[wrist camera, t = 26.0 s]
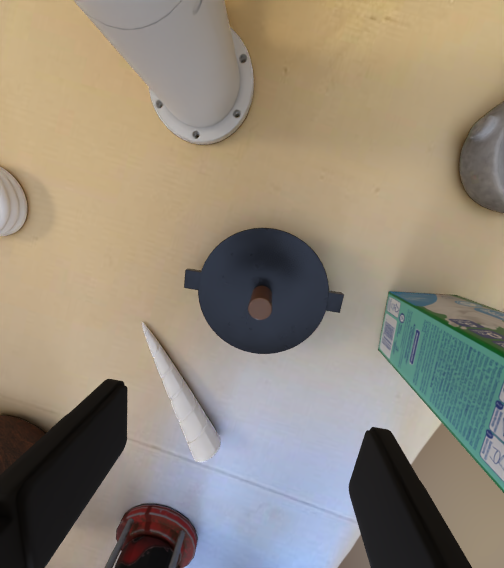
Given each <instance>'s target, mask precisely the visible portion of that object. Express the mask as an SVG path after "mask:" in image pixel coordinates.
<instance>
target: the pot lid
mask: <svg viewBox="0 0 504 568" xmlns="http://www.w3.org/2000/svg"><path fill="white" fill-rule="evenodd" d="M198 295H199V302H200V306H201V310H202V312H203V315H204V317H205V319H206V321H207V323H208V324H209V325H210V327H211V328H212V330H213V331H214V332H215V333H216V334H217V335H218V336H219V337H220V338H222V339H223V340H224V341H225V342H227V343H228V344H230V345H232V346H234V347H236V348H238V349H241V350H243V351H247V352H251V353H258V354H271V353H278V352H282V351H285V350H288V349H291V348H293V347H295V346H297V345H298V344H300V343H301V342H303V341H304V340H306V339H307V338H308V337H309V336H310V335H311V334H312V333H313V332H314V331H315V330H316V328H317V327H318V325H319V324H320V322H321V321H322V319H323V316H324V314H325V311H326V308H327V304H328V298H329V286H328V279H327V275H326V272H325V269H324V267H323V264H322V263H321V261H320V259H319V258H318V256H317V255H316V254H315V252H314V251H313V250H312V249H311V248H310V247H309V246H308V245H307V244H306V243H305V242H303V241H302V240H300V239H299V238H297V237H296V236H294V235H292V234H290V233H287V232H284V231H281V230H277V229H271V228H254V229H249V230H244V231H242V232H239V233H236V234H234V235H232V236H230V237H228V238H227V239H225V240H224V241H222V242H221V243H220V244H219V245H218V246H217V247H216V248H215V249H214V250H213V251H212V252H211V254H210V255H209V257H208V258H207V260H206V261H205V263H204V266H203V268H202V271H201V274H200V278H199V284H198Z"/></svg>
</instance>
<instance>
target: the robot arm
mask: <svg viewBox="0 0 504 568" xmlns="http://www.w3.org/2000/svg"><path fill="white" fill-rule="evenodd" d="M74 1H75V3H76V4H77V5H78V6H79V7H80V9H81V10H82V11H83V12H84V13H85V14H86V15H87V17H88V18H89V19H90V20H91V21H92V22H93V24H94V25H95V26H96V27H97V28H98V29H99V30H100V32H101V33H102V34H103V35H104V36H105V37H106V38H107V40H108V41H109V42H110V43H111V44H112V45H113V46H114V48H115V49H116V50H117V51H118V52H119V53H120V54H121V56H122V57H123V58H124V59H125V60H126V61H127V63H128V64H129V65H130V66H131V67H132V68H133V69H134V71H135V72H136V73H137V74H138V75H139V76H140V77H141V79H142V80H143V81H144V82H145V83H146V84H147V85H148V87H149V92H150V97H151V101H152V103H153V106H154V108H155V111H156V113H157V114H158V116H159V118H160V119H161V121H162V122H163V123H164V124H165V125H166V127H167V128H168V129H169V130H170V131H171V132H173V133H174V134H175V135H176V136H178V137H179V138H181V139H183V140H185V141H187V142H190V143H194V144H200V145H202V144H212V143H216V142H219V141H221V140H223V139H225V138H227V137H229V136H230V135H231V134H232V133H234V132H235V131H236V130H237V129H238V127H239V126H240V125H241V124H242V122H243V121H244V119H245V117H246V116H247V114H248V111H249V108H250V106H251V103H252V98H253V93H254V76H253V68H252V63H251V59H250V56H249V53H248V51H247V48H246V46H245V45H244V43H243V41H242V40H241V38H240V37H239V36H238V35H237V33H236V32H235V31H234V30H233V29H232V28H231V27H230V25H229V20H228V15H227V10H226V5H225V0H74ZM243 62H245V63H243ZM161 107H162V108H161ZM237 115H239V116H240V117H239V118H236V116H237ZM197 135H199V137H198V138H196V137H197ZM126 442H127V386H124V382H123V381H118V380H113V379H107V380H105V381H104V382H103V383H102V384H101V385H100V386H98V387H97V388H96V389H95V390H94V391H93V392H92V393H91V394H90V395H89V396H88V397H86V398H85V399H84V400H83V401H82V402H81V403H80V404H79V405H78V406H77V407H76V408H74V409H73V410H72V411H71V412H70V413H69V414H67V415H66V416H65V417H63V418H62V419H61V420H60V421H59V422H58V423H57V424H56V425H55V426H53V427H52V428H51V429H50V430H49V431H48V432H47V433H46V434H45V435H44V436H42V437H41V438H40V439H39V440H38V441H37V442H36V443H35V444H34V445H33V446H31V447H30V448H29V449H28V450H27V451H26V452H25V453H24V454H23V455H22V456H20V457H19V458H18V459H17V460H16V461H15V462H14V463H13V464H12V465H11V466H9V467H8V468H7V469H6V470H5V471H4V472H3V473H2V474H1V475H0V568H45V566H46V565H47V564H48V562H49V561H50V559H51V558H52V556H53V555H54V553H55V552H56V550H57V549H58V547H59V546H60V544H61V543H62V541H63V540H64V538H65V537H66V535H67V534H68V532H69V531H70V529H71V528H72V526H73V525H74V523H75V522H76V520H77V519H78V517H79V516H80V514H81V513H82V511H83V510H84V508H85V507H86V505H87V504H88V502H89V501H90V499H91V498H92V496H93V495H94V493H95V492H96V490H97V489H98V487H99V486H100V484H101V483H102V481H103V480H104V478H105V477H106V475H107V474H108V472H109V471H110V469H111V468H112V466H113V465H114V463H115V462H116V460H117V459H118V457H119V456H120V454H121V453H122V451H123V450H124V448H125V445H126ZM349 494H350V498H351V501H352V505H353V508H354V512H355V515H356V518H357V522H358V525H359V529H360V532H361V536H362V539H363V542H364V546H365V549H366V553H367V556H368V559H369V562H370V566H371V568H472V567H471V565H470V563H469V562H468V560H467V558H466V557H465V555H464V553H463V551H462V550H461V548H460V546H459V545H458V543H457V541H456V540H455V538H454V536H453V535H452V533H451V531H450V529H449V528H448V526H447V524H446V523H445V521H444V519H443V518H442V516H441V514H440V513H439V511H438V509H437V507H436V506H435V504H434V502H433V501H432V499H431V497H430V496H429V494H428V492H427V490H426V489H425V487H424V486H423V484H422V483H421V481H420V480H419V478H418V477H417V475H416V473H415V472H414V470H413V468H412V466H411V465H410V463H409V461H408V460H407V458H406V456H405V454H404V453H403V451H402V449H401V448H400V446H399V444H398V443H397V441H396V439H395V437H394V436H393V434H392V433H391V431H389V430H387V429H381V428H376V427H372V428H371V429H370V431H368V430H367V431H366V433H365V436H364V439H363V442H362V445H361V448H360V451H359V454H358V458H357V461H356V464H355V467H354V470H353V473H352V476H351V479H350V483H349Z"/></svg>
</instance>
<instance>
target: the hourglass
mask: <svg viewBox="0 0 504 568" xmlns="http://www.w3.org/2000/svg"><path fill="white" fill-rule="evenodd" d="M116 540H117V544H116V546H115V548H114V550H113V552H112V554H111V556H110V558H109V560H108V562H107V564H106V566H105V568H112V567H113V565H114V563H115V561H116V559H117V556H118V554H119V552H120V550H121V551H122V552H121V554H120V556H119V558H118V560H117V563H116V565H115V568H184V567H185V566H187V565H188V564H189V563H190V562H191V560H192V559H193V558H194V554H195V550H196V545H197V535H196V532H195V529H194V528H193V526H192V525H191V523H190V522H189V520H187V519H186V518H185V517H184V516H183V515H181V514H180V513H179V512H177V511H175V510H172V509H170V508H168V507H164V506H160V505H156V504H153V505H141V506H137V507H134V508H132V509H131V510H129V511H128V512H127V513H125V515H124V517H123V519H122V520H121V522H120V524H119V526H118V528H117V531H116Z"/></svg>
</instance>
